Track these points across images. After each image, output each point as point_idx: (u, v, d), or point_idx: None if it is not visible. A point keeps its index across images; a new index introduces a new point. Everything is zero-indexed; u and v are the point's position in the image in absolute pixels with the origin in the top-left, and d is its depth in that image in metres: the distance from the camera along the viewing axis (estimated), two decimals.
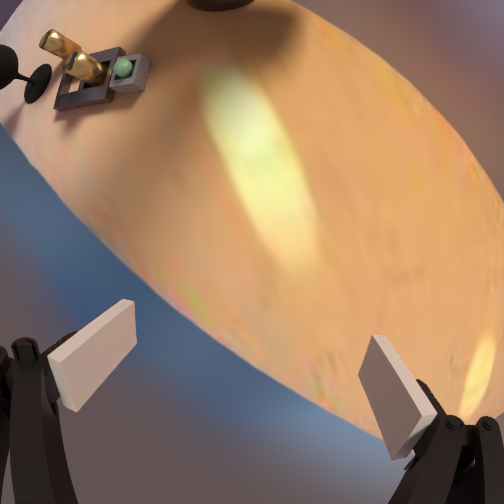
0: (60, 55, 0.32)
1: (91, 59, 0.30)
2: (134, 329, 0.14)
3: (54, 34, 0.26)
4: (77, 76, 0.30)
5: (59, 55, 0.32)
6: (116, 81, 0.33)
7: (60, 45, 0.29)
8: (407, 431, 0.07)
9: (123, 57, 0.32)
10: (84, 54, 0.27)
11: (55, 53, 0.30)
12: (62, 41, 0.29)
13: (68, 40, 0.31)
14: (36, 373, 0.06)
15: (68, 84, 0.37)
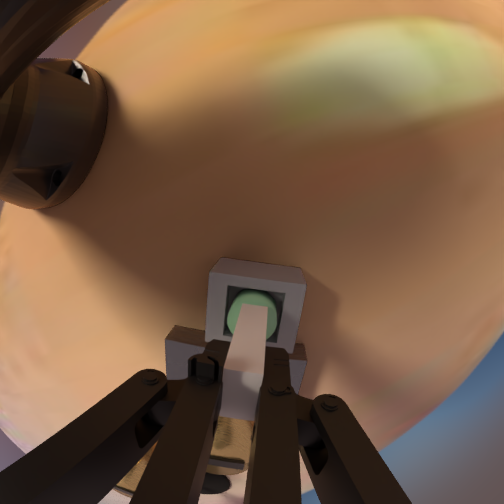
0: None
1: None
2: None
3: None
4: None
5: None
6: (283, 335, 0.17)
7: None
8: None
9: (210, 324, 0.17)
10: None
11: None
12: None
13: None
14: (210, 394, 0.08)
15: None
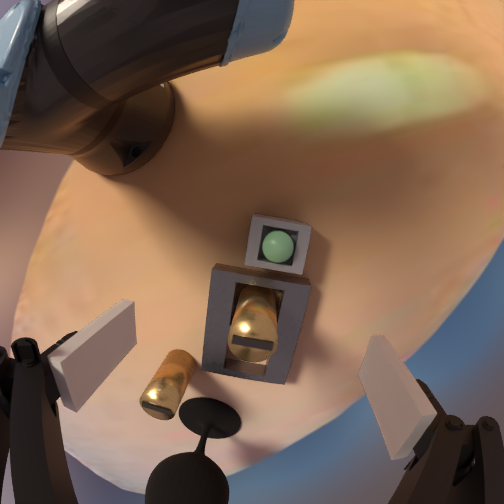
0: (187, 381, 0.31)
1: (248, 307, 0.25)
2: (134, 329, 0.14)
3: (154, 393, 0.26)
4: None
5: (187, 383, 0.31)
6: (296, 260, 0.27)
7: (174, 381, 0.29)
8: (407, 431, 0.07)
9: (249, 252, 0.27)
10: (245, 318, 0.23)
11: (184, 390, 0.30)
12: (167, 378, 0.29)
13: (163, 369, 0.30)
14: (36, 373, 0.06)
15: (243, 364, 0.34)
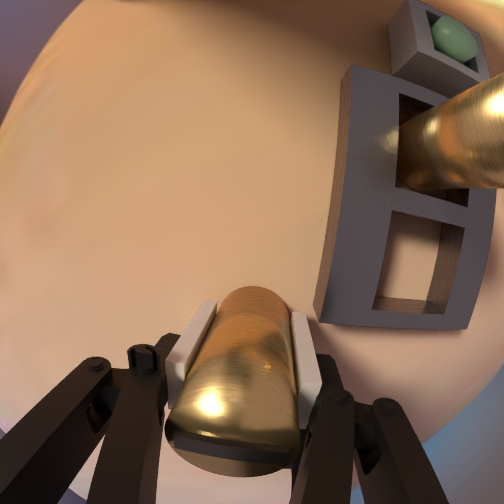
0: None
1: (476, 87, 0.06)
2: None
3: (227, 397, 0.07)
4: None
5: None
6: (481, 68, 0.08)
7: (276, 351, 0.10)
8: None
9: (419, 35, 0.09)
10: None
11: None
12: (253, 344, 0.10)
13: (231, 323, 0.12)
14: (151, 383, 0.08)
15: (395, 301, 0.15)
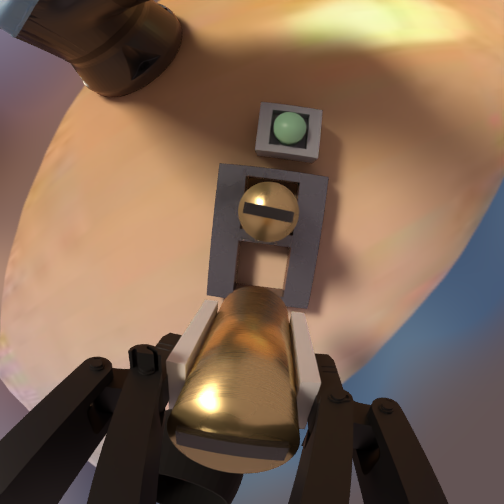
0: None
1: None
2: None
3: (229, 393, 0.07)
4: None
5: None
6: (310, 143, 0.24)
7: (276, 350, 0.10)
8: None
9: (259, 136, 0.24)
10: None
11: None
12: (254, 343, 0.10)
13: (232, 322, 0.12)
14: (152, 383, 0.08)
15: None
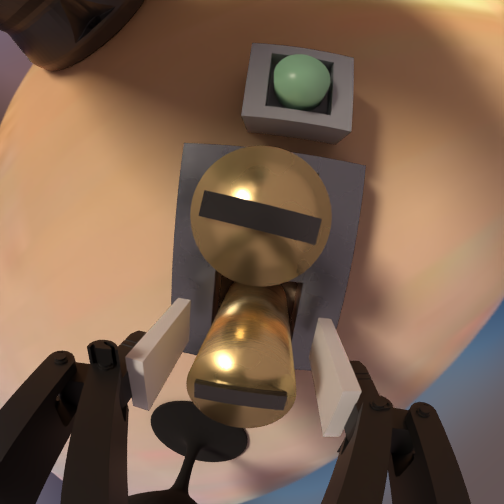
0: None
1: None
2: (188, 326, 0.15)
3: (239, 346, 0.10)
4: None
5: None
6: (338, 106, 0.13)
7: (276, 320, 0.13)
8: (333, 407, 0.09)
9: (249, 93, 0.13)
10: None
11: None
12: (258, 313, 0.12)
13: (239, 300, 0.14)
14: (112, 377, 0.08)
15: None
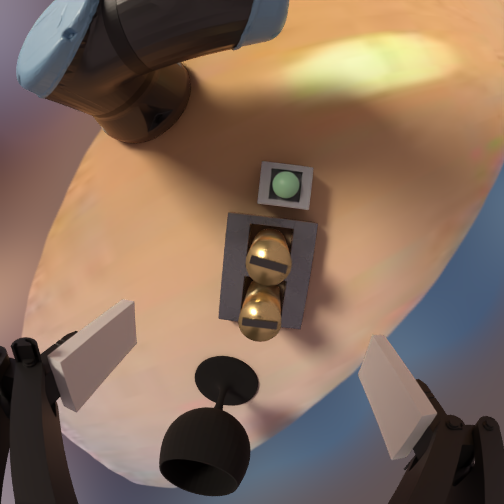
0: None
1: (265, 236, 0.28)
2: (134, 329, 0.14)
3: (259, 302, 0.27)
4: None
5: None
6: (303, 197, 0.31)
7: (273, 296, 0.30)
8: (407, 431, 0.07)
9: (261, 191, 0.31)
10: (264, 240, 0.26)
11: None
12: (265, 293, 0.30)
13: (256, 288, 0.32)
14: (36, 373, 0.06)
15: None
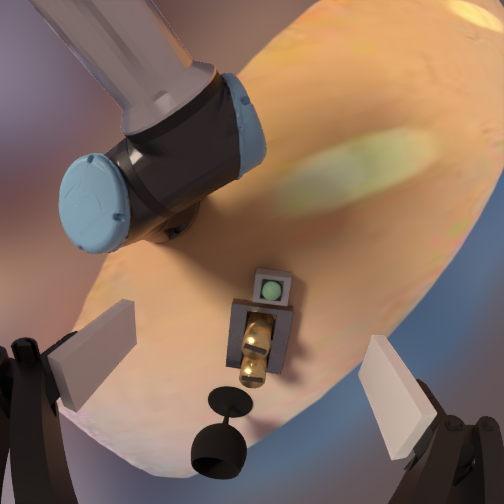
0: (266, 360, 0.48)
1: (255, 328, 0.43)
2: (134, 329, 0.14)
3: (252, 368, 0.42)
4: None
5: (266, 362, 0.48)
6: (283, 298, 0.45)
7: (261, 360, 0.45)
8: (407, 431, 0.07)
9: (254, 294, 0.45)
10: (253, 335, 0.41)
11: None
12: None
13: None
14: (36, 373, 0.06)
15: None
